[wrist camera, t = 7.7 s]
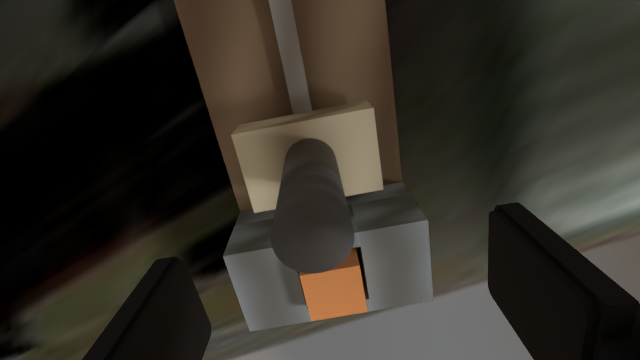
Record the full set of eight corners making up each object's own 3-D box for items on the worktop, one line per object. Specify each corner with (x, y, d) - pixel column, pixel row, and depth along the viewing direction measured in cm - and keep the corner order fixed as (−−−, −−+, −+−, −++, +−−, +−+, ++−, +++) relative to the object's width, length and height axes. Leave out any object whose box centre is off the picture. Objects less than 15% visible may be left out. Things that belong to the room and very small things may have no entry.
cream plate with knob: (366, 100, 20) (418, 153, 11) (375, 174, 22) (427, 275, 13) (239, 124, 21) (181, 197, 11) (259, 196, 23) (224, 310, 13)
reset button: (352, 236, 21) (359, 265, 19) (360, 278, 23) (367, 311, 20) (300, 245, 21) (299, 276, 19) (310, 287, 23) (311, 321, 20)
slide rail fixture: (370, -90, 19) (403, -155, 13) (404, 239, 28) (433, 300, 21) (167, -46, 20) (99, -88, 13) (262, 264, 28) (249, 331, 22)
